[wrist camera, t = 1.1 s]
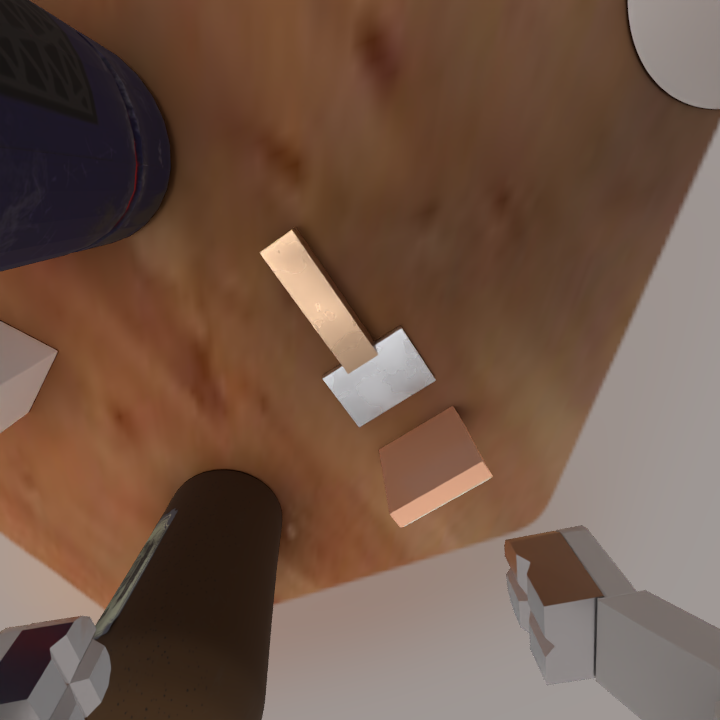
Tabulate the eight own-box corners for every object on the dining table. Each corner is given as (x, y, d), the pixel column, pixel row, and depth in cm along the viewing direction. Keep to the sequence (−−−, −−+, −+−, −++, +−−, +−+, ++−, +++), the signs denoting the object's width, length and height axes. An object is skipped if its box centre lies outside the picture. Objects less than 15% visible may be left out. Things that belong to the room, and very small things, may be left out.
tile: (452, 405, 37) (482, 461, 29) (462, 420, 37) (494, 478, 30) (378, 449, 38) (389, 514, 30) (389, 463, 38) (402, 529, 31)
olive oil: (306, 483, 39) (262, 936, 15) (268, 576, 42) (184, 1067, 19) (179, 446, 37) (-91, 895, 13) (150, 546, 40) (-109, 1048, 17)
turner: (322, 207, 31) (321, 208, 28) (433, 376, 36) (442, 392, 33) (240, 265, 32) (231, 272, 29) (358, 422, 37) (360, 441, 34)
